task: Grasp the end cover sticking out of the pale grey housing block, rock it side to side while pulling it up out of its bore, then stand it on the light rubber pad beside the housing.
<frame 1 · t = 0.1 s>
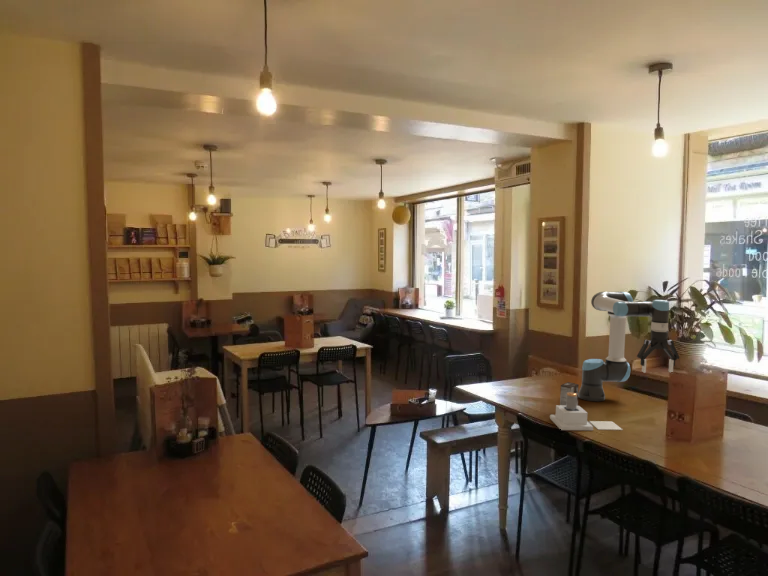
hand: (657, 372, 266), 28 cm above the table, fingers open, 13 cm apart
pad: (605, 425, 268), on the table
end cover: (570, 420, 270), point 2 cm above the table, touching housing
housing: (570, 424, 270), on the table
coffee box: (568, 413, 288), on the table
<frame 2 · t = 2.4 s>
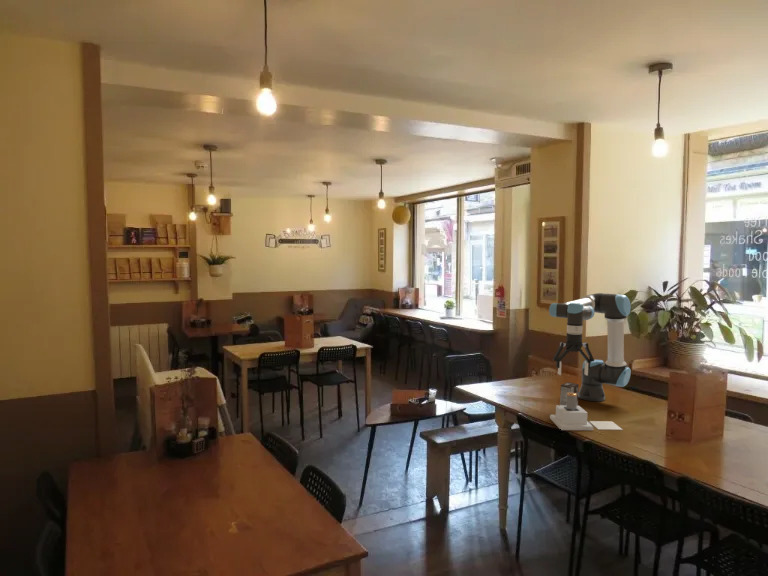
hand: (572, 374, 268), 26 cm above the table, fingers open, 13 cm apart
nothing on the table moved.
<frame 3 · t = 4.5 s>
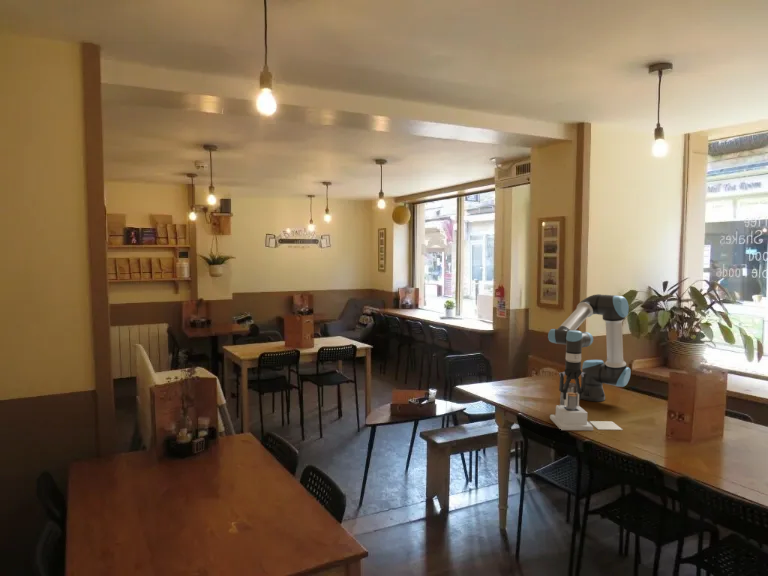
hand: (571, 405, 269), 10 cm above the table, fingers closed on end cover, 5 cm apart
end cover: (570, 420, 270), point 2 cm above the table, touching gripper, housing
everything else where it was.
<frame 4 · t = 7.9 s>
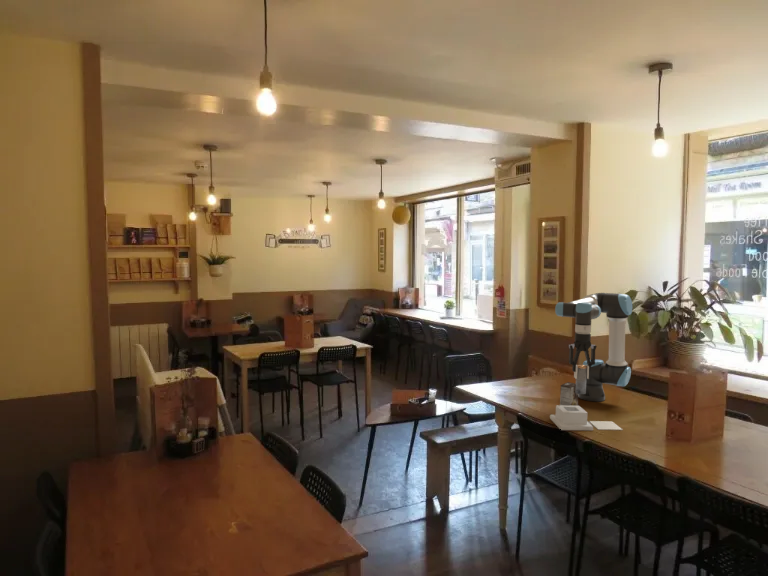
hand: (581, 377, 268), 24 cm above the table, fingers closed on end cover, 5 cm apart
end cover: (580, 392, 268), point 17 cm above the table, touching gripper
everything else where it was.
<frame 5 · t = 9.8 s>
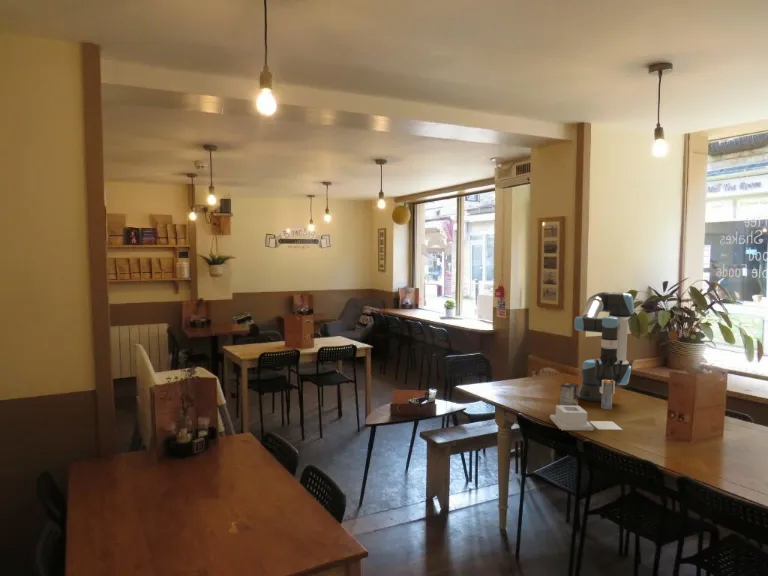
hand: (607, 392, 266), 17 cm above the table, fingers closed on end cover, 5 cm apart
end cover: (606, 407, 267), point 9 cm above the table, touching gripper
everything else where it was.
when the fingers open (9 cm above the table, at t = 11.2 s): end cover drops 1 cm, resting on pad.
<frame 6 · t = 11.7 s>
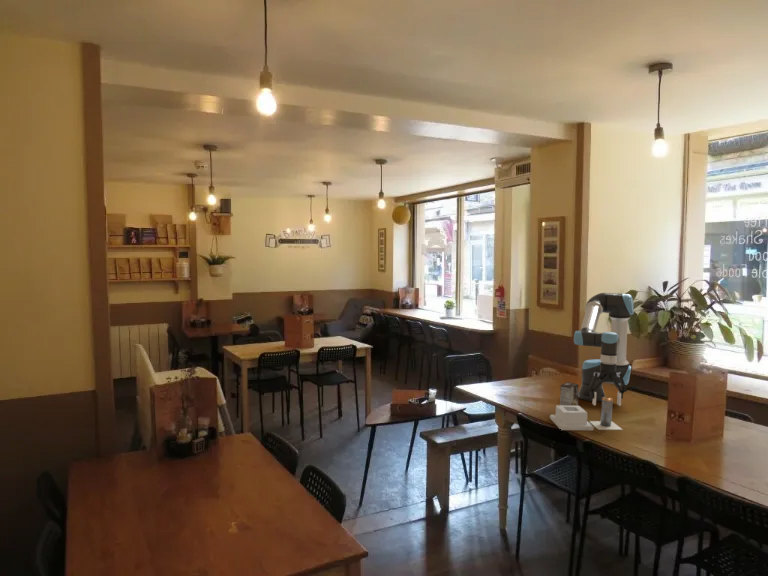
hand: (606, 404, 267), 11 cm above the table, fingers open, 12 cm apart
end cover: (605, 425, 268), resting on pad
everything else where it was.
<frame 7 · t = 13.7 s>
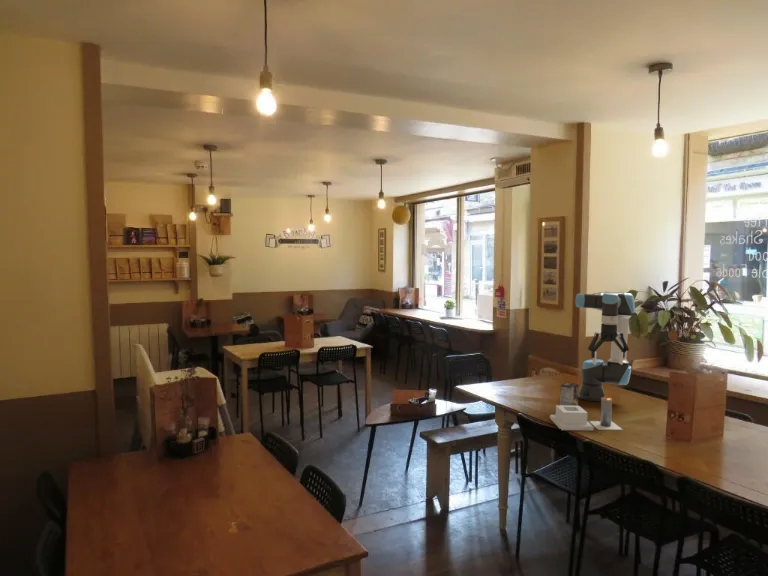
hand: (607, 364, 272), 31 cm above the table, fingers open, 13 cm apart
nothing on the table moved.
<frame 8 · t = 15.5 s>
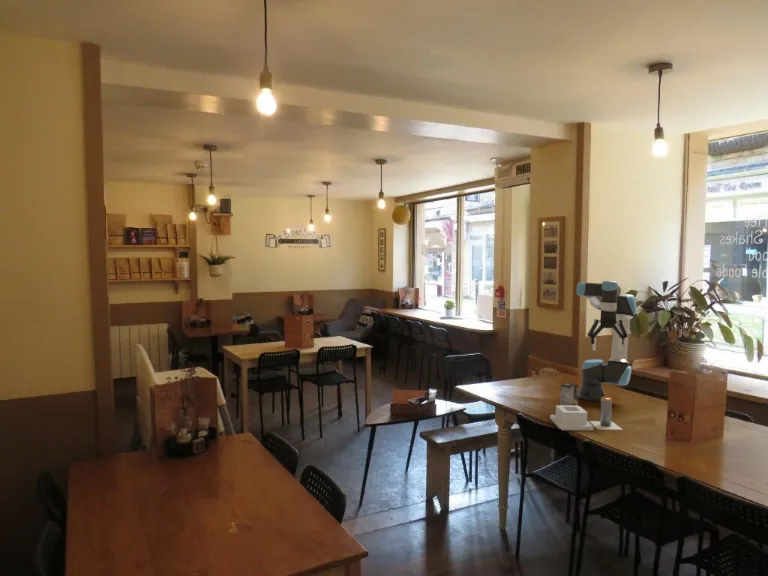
hand: (606, 350, 277), 37 cm above the table, fingers open, 13 cm apart
nothing on the table moved.
at the end: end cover inside the target area on the pad (0.0 cm from its centre), point 0.4 cm above the pad's base; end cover tilted 1°; the gripper is holding nothing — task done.
